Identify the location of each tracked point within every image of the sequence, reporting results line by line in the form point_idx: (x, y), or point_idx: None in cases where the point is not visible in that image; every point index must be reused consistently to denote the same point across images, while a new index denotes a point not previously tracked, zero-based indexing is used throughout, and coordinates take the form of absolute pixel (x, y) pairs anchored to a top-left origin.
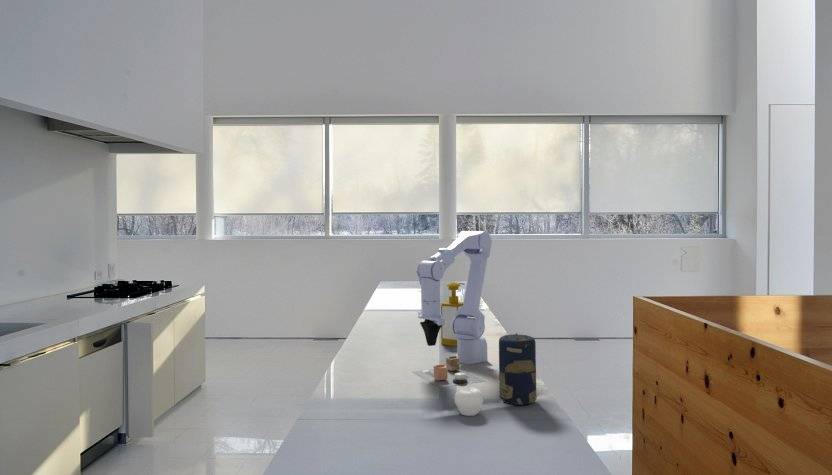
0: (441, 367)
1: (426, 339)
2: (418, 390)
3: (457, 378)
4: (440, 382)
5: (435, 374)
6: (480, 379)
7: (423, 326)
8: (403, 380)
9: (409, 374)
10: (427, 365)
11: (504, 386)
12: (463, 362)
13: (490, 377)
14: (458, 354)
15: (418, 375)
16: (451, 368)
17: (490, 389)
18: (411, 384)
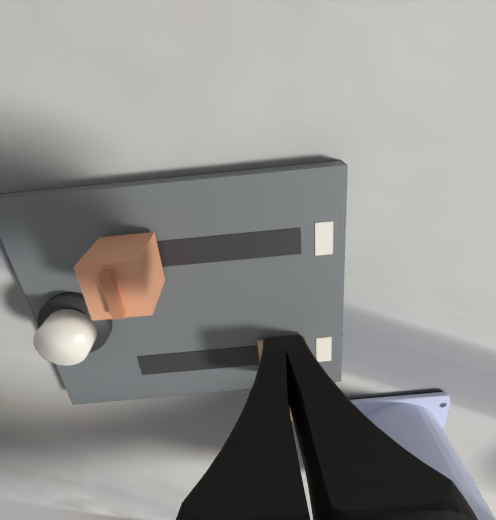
0: (93, 291)
1: (306, 361)
2: (41, 100)
3: (47, 318)
4: (85, 240)
5: (125, 243)
6: (102, 396)
7: (336, 473)
8: (268, 78)
9: (374, 154)
10: (483, 292)
11: None
12: (373, 421)
13: (184, 433)
14: (417, 440)
15: (254, 175)
16: (258, 351)
17: (23, 387)
18: (170, 99)
